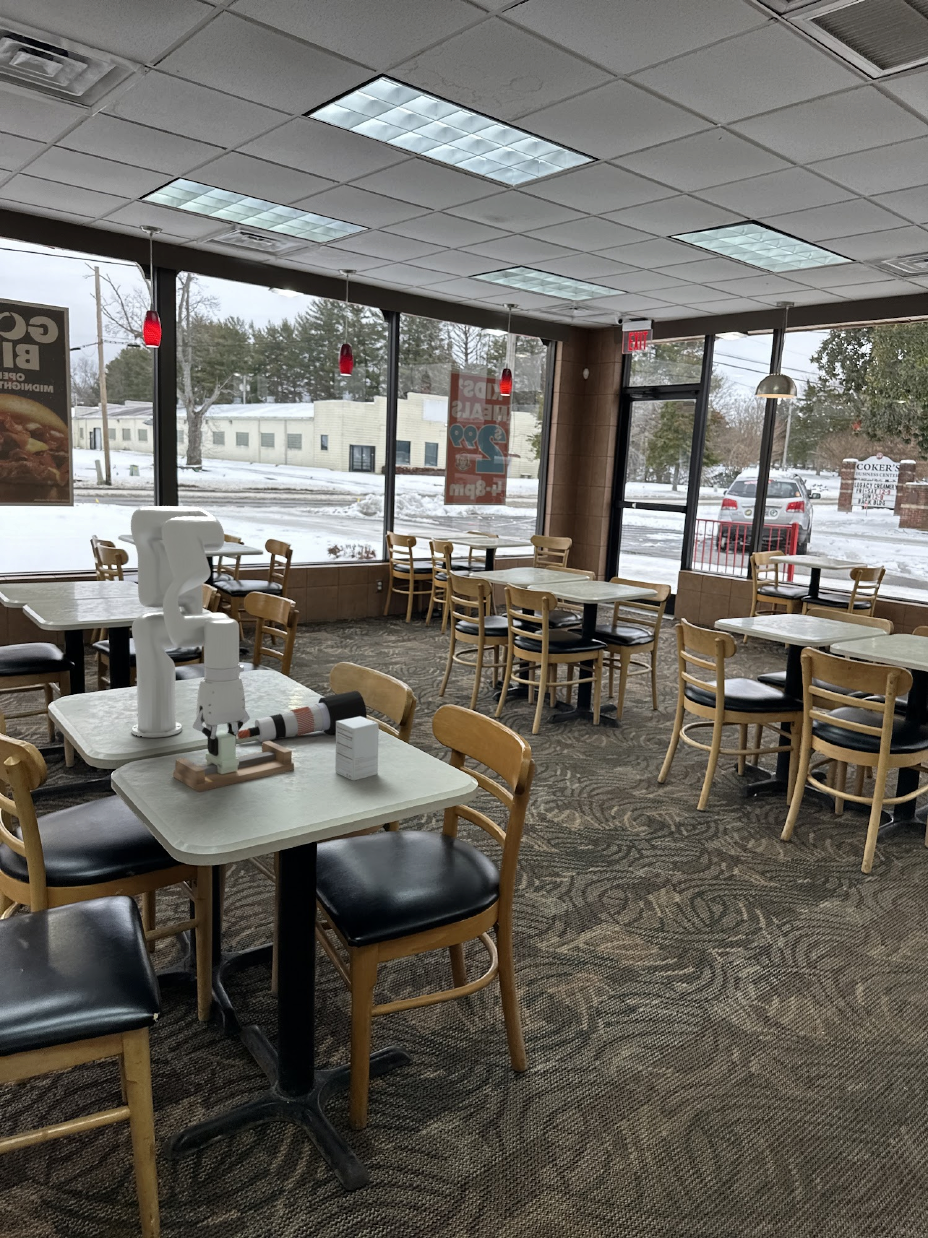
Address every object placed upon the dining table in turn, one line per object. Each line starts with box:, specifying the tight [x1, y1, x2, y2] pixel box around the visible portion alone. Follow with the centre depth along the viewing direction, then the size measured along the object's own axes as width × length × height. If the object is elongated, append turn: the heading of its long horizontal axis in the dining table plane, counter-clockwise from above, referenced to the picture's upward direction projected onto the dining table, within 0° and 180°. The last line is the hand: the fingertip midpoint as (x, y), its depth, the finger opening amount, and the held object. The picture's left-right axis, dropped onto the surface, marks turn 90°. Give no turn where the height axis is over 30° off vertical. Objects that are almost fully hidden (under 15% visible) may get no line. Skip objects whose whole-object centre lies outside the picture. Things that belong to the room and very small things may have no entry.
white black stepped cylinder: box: [236, 690, 368, 743], centre depth 228 cm, size 10×34×10 cm, turn 118°
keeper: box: [205, 729, 239, 774], centre depth 195 cm, size 8×4×8 cm, turn 44°
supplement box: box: [334, 716, 380, 782], centre depth 200 cm, size 7×7×13 cm
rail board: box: [172, 740, 295, 793], centre depth 198 cm, size 12×24×4 cm, turn 134°
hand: (222, 751), depth 195 cm, fingers closed on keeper, 3 cm apart
